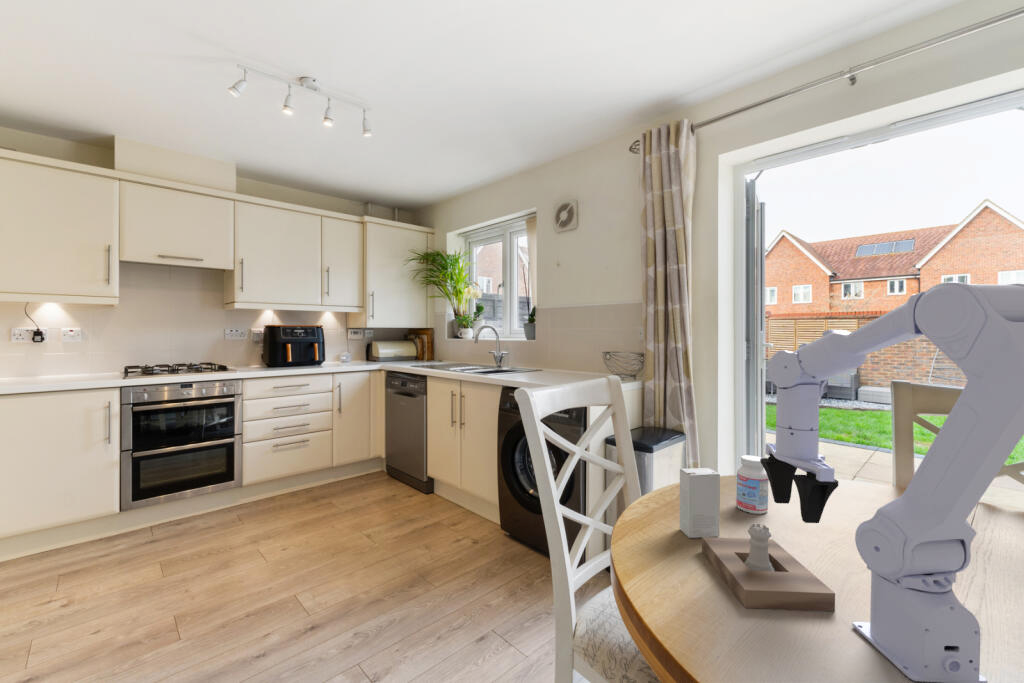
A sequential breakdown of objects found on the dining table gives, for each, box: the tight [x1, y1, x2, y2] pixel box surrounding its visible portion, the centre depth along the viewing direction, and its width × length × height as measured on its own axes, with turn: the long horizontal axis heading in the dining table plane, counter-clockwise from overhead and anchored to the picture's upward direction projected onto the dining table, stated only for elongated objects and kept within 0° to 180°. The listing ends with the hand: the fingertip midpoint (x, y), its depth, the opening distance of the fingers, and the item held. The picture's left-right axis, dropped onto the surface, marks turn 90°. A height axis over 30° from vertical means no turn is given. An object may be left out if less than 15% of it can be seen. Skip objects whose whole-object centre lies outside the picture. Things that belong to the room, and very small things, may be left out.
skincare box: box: [679, 467, 721, 539], centre depth 84 cm, size 6×4×12 cm
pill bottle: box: [735, 454, 770, 515], centre depth 96 cm, size 6×6×11 cm
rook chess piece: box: [744, 523, 774, 572], centre depth 69 cm, size 4×4×8 cm
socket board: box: [701, 537, 836, 612], centre depth 69 cm, size 16×12×2 cm
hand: (795, 511), depth 70 cm, fingers open, 7 cm apart
